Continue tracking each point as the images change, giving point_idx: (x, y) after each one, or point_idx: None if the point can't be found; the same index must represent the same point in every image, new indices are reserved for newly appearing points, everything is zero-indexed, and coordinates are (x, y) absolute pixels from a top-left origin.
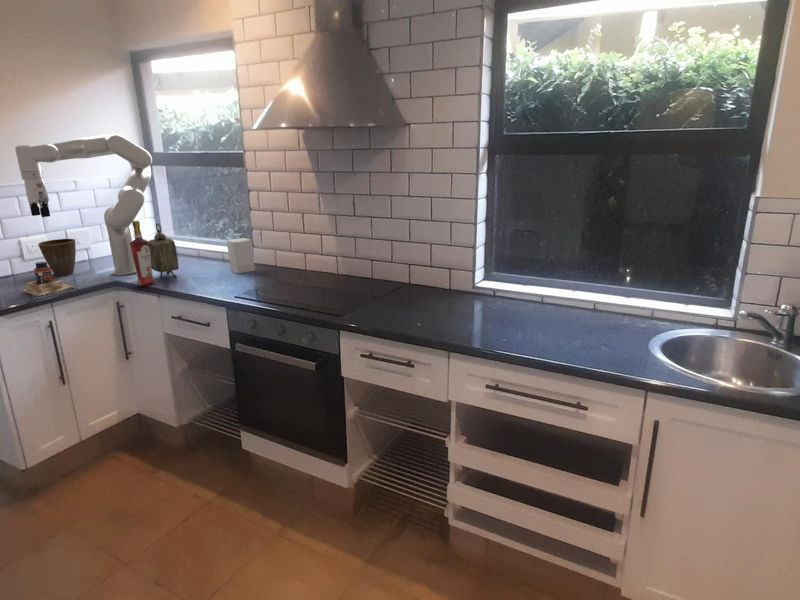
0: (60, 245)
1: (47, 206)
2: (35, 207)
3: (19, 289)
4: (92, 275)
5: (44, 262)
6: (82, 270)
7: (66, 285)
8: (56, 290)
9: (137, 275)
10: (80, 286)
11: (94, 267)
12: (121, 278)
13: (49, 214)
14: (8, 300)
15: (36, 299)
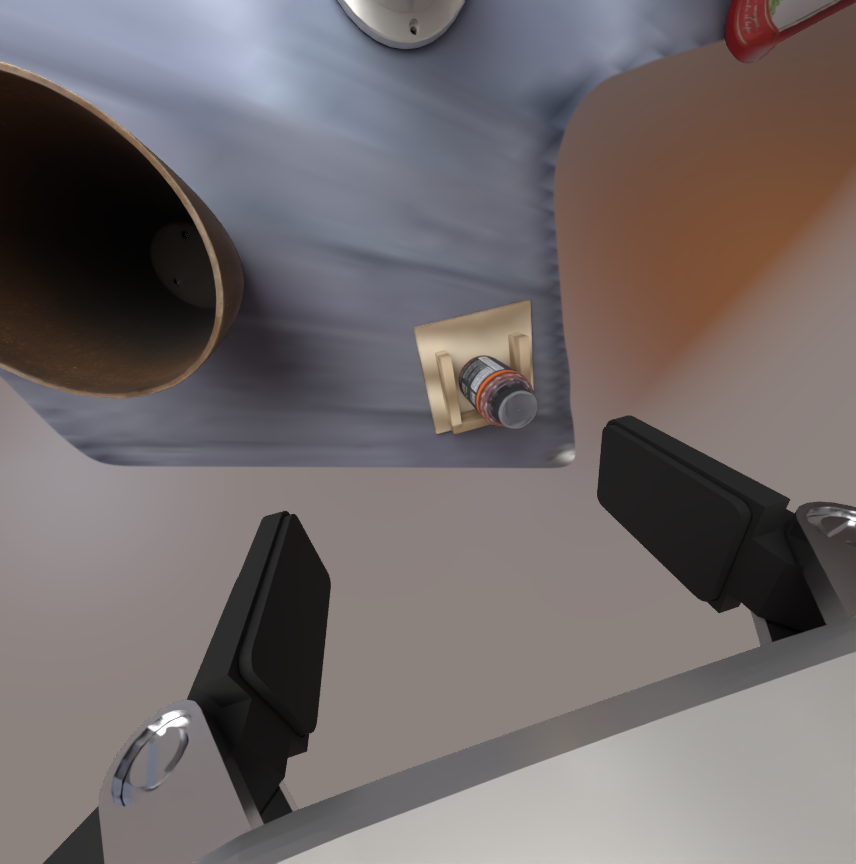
0: (221, 266)
1: (844, 523)
2: (286, 674)
3: (388, 438)
4: (331, 154)
5: (532, 399)
6: None
7: (494, 316)
8: (531, 356)
9: (794, 30)
10: (512, 271)
11: (58, 42)
12: (522, 52)
13: (644, 429)
14: (503, 464)
15: (557, 410)
